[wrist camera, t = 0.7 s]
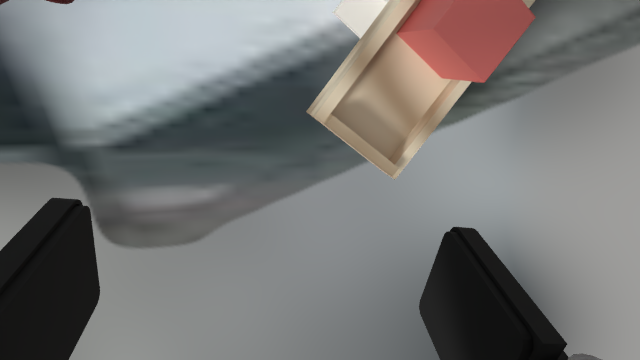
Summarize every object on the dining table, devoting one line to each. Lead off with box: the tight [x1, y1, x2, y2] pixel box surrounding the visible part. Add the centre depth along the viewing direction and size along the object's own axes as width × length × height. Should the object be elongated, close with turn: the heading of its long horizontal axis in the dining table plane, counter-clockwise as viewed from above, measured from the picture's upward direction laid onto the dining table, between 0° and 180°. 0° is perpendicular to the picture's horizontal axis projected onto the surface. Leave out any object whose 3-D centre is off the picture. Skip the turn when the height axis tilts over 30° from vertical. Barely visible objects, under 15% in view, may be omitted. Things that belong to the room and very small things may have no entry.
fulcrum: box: [333, 0, 389, 39], centre depth 32 cm, size 12×11×5 cm
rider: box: [396, 0, 536, 83], centre depth 26 cm, size 5×5×5 cm
